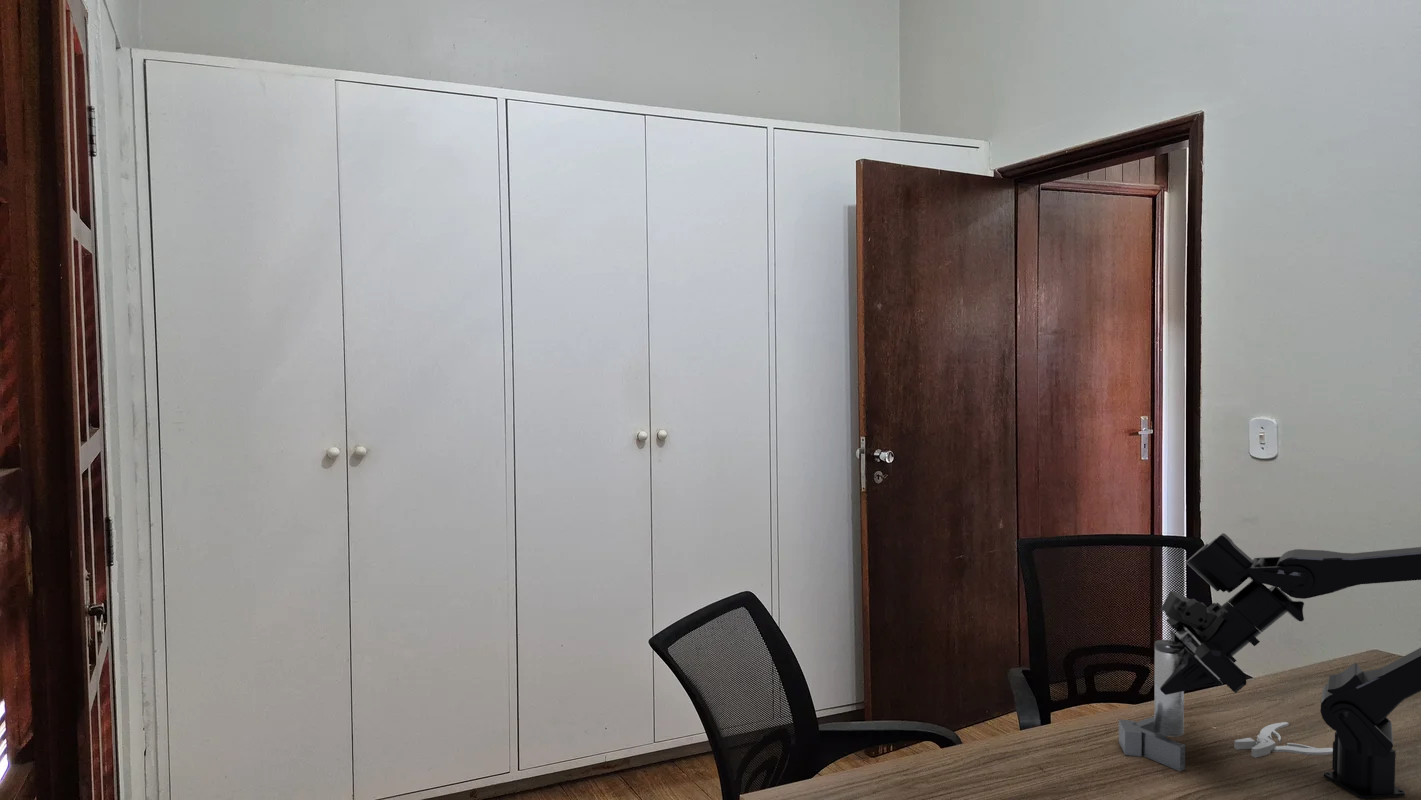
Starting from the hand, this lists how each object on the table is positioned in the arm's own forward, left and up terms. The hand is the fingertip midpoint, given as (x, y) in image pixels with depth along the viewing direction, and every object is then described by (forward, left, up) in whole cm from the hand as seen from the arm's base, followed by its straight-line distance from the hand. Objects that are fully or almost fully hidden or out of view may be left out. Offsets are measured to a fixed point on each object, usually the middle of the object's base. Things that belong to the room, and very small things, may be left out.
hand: (1158, 686), depth 125 cm
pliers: (0, -20, -10) cm, 22 cm away
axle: (0, -1, -7) cm, 7 cm away
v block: (0, +1, -10) cm, 10 cm away
